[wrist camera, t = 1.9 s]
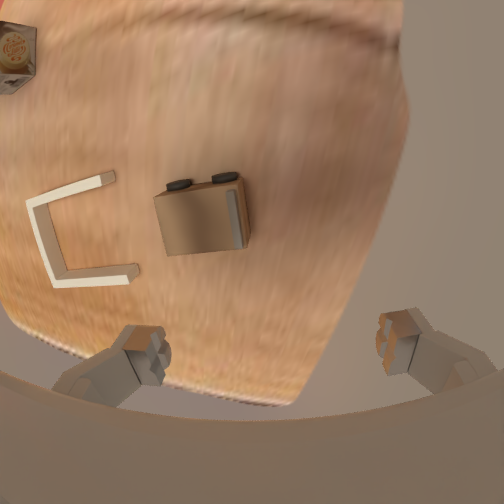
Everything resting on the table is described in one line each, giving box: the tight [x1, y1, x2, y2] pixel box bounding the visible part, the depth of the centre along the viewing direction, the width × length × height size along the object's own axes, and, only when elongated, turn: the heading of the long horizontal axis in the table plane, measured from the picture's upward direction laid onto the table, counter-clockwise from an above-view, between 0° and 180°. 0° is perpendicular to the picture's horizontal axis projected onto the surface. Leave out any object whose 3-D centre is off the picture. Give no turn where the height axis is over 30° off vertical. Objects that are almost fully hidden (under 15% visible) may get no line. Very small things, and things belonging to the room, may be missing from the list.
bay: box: [26, 171, 140, 288], centre depth 30 cm, size 14×13×3 cm
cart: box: [153, 172, 251, 256], centre depth 27 cm, size 8×7×5 cm
